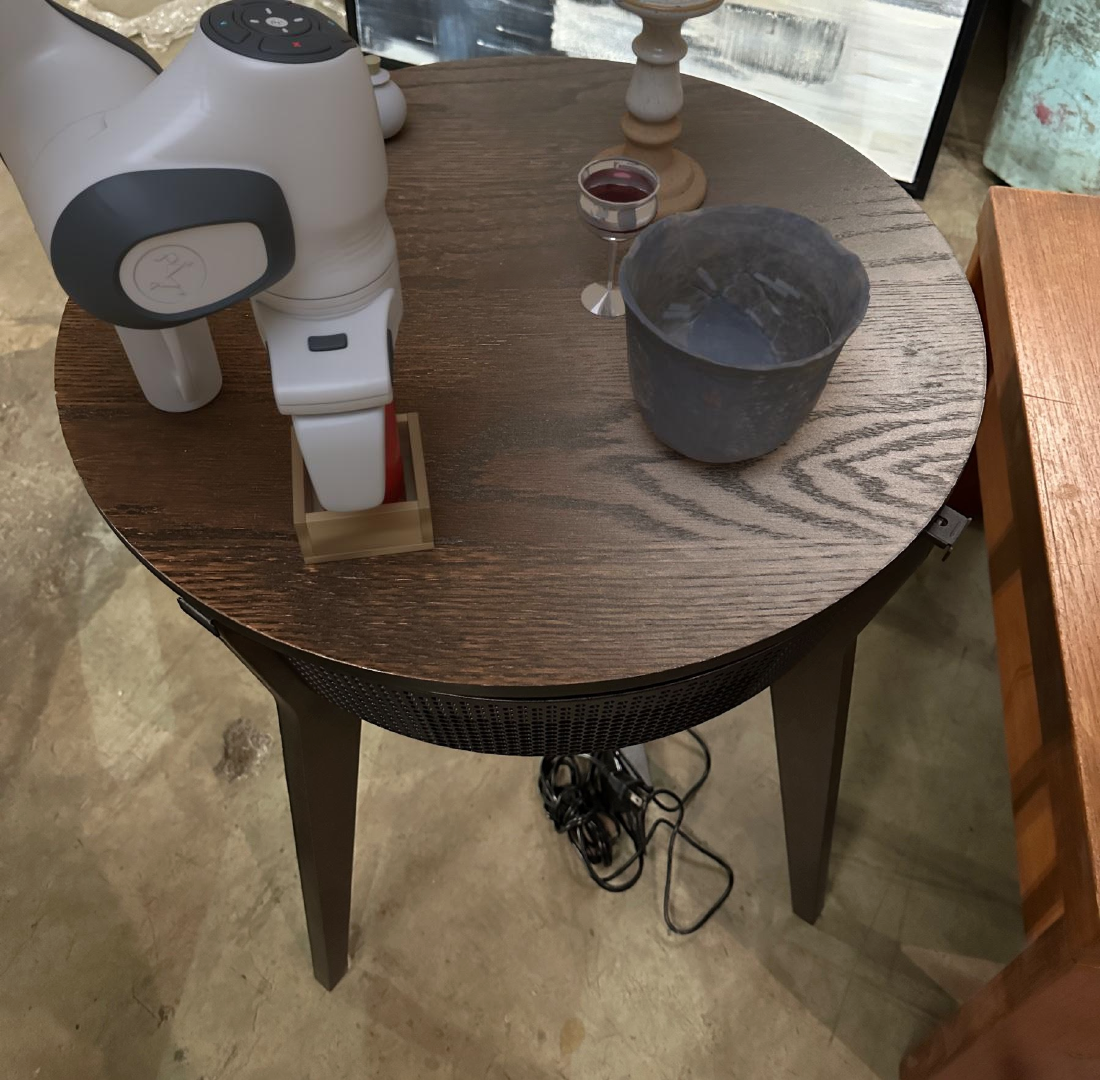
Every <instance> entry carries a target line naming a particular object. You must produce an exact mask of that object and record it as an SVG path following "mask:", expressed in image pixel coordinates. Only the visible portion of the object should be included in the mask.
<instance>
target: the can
mask: <svg viewBox="0 0 1100 1080" xmlns="http://www.w3.org/2000/svg"><path fill="white" fill-rule="evenodd" d="M392 391H393V392H394V388H393V387H392ZM396 415H397V411H396V404H395V395H394V393H393V400H392V402H391V403H390V404H386V405H385V495H384V500H383V502H382V503H381V504H380V505H382V504H391V503H399V502H407V494H406V486H405V479H404V471H403V463H402V456H401V448H400V440H399V433H398V425H397V417H396ZM323 510H324V511H328V510H326V509H325V508H324V507H323Z"/></svg>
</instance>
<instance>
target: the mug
mask: <svg viewBox="0 0 1100 1080" xmlns="http://www.w3.org/2000/svg"><path fill="white" fill-rule="evenodd" d="M113 327H114V329H115V331H116V334H117V335H118V337H119V340H120V342H121V345H122V347H123V349H124V352H125V354H126V356H127V359H128V361H129V363H130V365H131V368H132V370H133V372H134V375H135V377H136V379H137V381H138V383H139V386H140V388H141V390H142V393H143V394H144V397H145V398H146V400H147V401H148V402H149V404H150V405H151V406H153V407H154V408H157V409H158V410H161V411H163V412H164V411H165V412H168V413H185V412H190V411H194V410H198V409H199V408H201V407H204V406H205V405H207V404H209V403H210V402H212V400H213V399H215V398H216V397H217V395H219V393H220V391H221V388H222V385H223V374H222V371H221V368H220V364H219V360H218V355H217V352H216V347H215V344H214V341H213V338H212V334H211V330H210V328H209V324H208V320H207V317H204V318H202V319H199V320H196V321H194V322H191V323H188V324H185V325H182V326H178V327H173V328H167V329H160V330H138V329H131V328H125V327H121V326H117V325H113Z"/></svg>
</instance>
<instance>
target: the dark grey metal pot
mask: <svg viewBox="0 0 1100 1080" xmlns="http://www.w3.org/2000/svg"><path fill="white" fill-rule="evenodd" d="M617 282H618V283H619V287H620V291H621V294H622V297H623V301H624V304H625V314H624V317H625V319H624V320H625V337H626V338H625V340H626V358H627V367H628V376H629V382H630V386H631V392H632V395H633V398H634V402H635V403H636V406H637V408H638V411H639V414H640V416H641V418H642V421H643V422H644V423H645V425H646V426H647V428H648V429H649V430H650V431H651V432H652V433H653V435H654V437H656V438H657V440H658V441H660V442H661V443H663V444H665V446H668V447H669V448H671V449H672V450H674V451H676V452H678V453H680V454H682V455H683V456H686V457H687V458H690V459H692V460H695V461H700V462H706V463H714V464H715V463H716V464H717V463H719V464H728V463H736V462H742V461H746V460H751V459H755V458H758V457H762V456H764V455H766V454H768V453H770V452H773V451H774V450H776V449H777V448H779V447H781V446H783V445H784V444H786V443H787V442H788V441H789V440H790V439H791V438H792V437H793V436H794V435H795V434H797V432H798V431H799V430H800V429H801V427H802V426H803V425H804V423H805V422H806V421H807V419H808V418H809V417H810V415H811V414H812V411H813V410H814V409H815V407H816V406H817V404H818V402H819V400H820V398H821V395H822V393H823V392H824V390H825V388H826V386H827V383H828V380H829V378H830V375H831V372H832V370H833V368H834V366H835V364H836V362H837V360H838V358H839V356H840V354H841V353H842V350H843V348H844V346H845V344H846V342H847V341H848V340H849V339H850V338H851V336H852V335H853V334H854V333H855V331H856V330H857V329H858V327H860V325H861V324H862V322H864V319H865V317H866V314H867V311H868V309H869V303H870V300H871V294H870V291H871V282H870V279H869V274H868V272H867V270H866V268H865V266H864V264H863V261H862V260H861V258H860V256H859V255H858V254H856V253H855V252H852V251H851V250H849V249H847V248H846V247H845V246H844V245H842V243H841V242H840V241H839V240H838V239H837V238H835V237H834V236H833V235H832V232H831V231H830V229H828V227H825V226H823V225H821V224H819V223H818V222H816V221H815V220H813V219H811V218H809V217H807V216H805V215H802V214H799V213H796V212H793V211H790V210H787V209H785V208H784V209H783V208H780V207H779V208H778V207H774V206H769V205H762V204H756V203H749V204H747V205H744V204H726V205H723V204H722V205H713V206H712V205H711V206H703V207H699V208H697V209H696V210H694V211H691V212H677V213H676V215H670V216H668V217H666V218H663V219H661V220H658V221H657V222H655V223H653V224H651V225H650V226H648V227H647V228H646V229H644V230H643V231H642V232H641V233H640V234H639V235H638V236H637V237H635V238H634V239H633V242H632V243H631V245H630V247H629V248H628V251H627V254H625V255H624V256H623V257H622V258H621V261H620V264H619V269H618V272H617Z"/></svg>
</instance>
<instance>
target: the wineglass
mask: <svg viewBox="0 0 1100 1080" xmlns="http://www.w3.org/2000/svg"><path fill="white" fill-rule="evenodd" d="M589 162H590V161H589ZM589 162H588V163H587V164H586V165H584V166H583V167H582V168H581V169H580V171H579V173H578V179H577V180H578V181H577V182H578V186H579V188H578V189H577V193H576V202H575V203H576V212H577V215H578V217H579V219H580V222H581V223H582V226H583V227H585V229H587V231H589V232H590V233H591V234H592V235H594V236H595V237H596V238H597V239H600V240H602V241H605V242H608V264H607V280H601V281H595V282H593V283H590V284H589V285H587V286H586V287H585V288H584V289H583V290H582V292H581V294H580V295H581V296H580V300H581V303H582V305H583V307H584V308H585V309H586V310H587V311H589V312H591V313H593V314H595V315H598V316H602V317H611V318H614V317H619V316H623V315H625V304H624V301H623V297H622V294H621V291H620V287H619V283H618V281H614V275H615V268H616V261H617V254H618V246H619V243H625V242H626V243H627V242H629V241H631V240H634V239H636V237H637V236H638V235H639V234H640V233H641V232H642V231H643V230H644V229H646V228H647V227H648V226H650V225H652V224H651V223H652V222H653V220H654V218H655V216H656V214H657V209H658V197H657V191H658V189H659V187H660V178H659V176H658V174H657V173H656V171H655V170H654V169H652V168H651V167H650V166H649V165H647V164H645V163H643V162H640V161H638V160H635V159H630V158H626V157H608V158H601V159H598V160H595V161H592V162H590V163H589Z"/></svg>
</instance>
